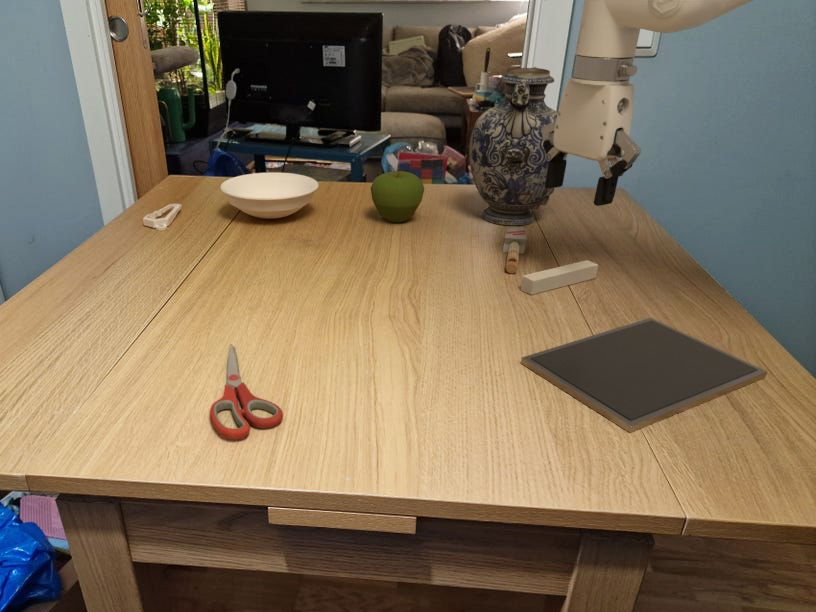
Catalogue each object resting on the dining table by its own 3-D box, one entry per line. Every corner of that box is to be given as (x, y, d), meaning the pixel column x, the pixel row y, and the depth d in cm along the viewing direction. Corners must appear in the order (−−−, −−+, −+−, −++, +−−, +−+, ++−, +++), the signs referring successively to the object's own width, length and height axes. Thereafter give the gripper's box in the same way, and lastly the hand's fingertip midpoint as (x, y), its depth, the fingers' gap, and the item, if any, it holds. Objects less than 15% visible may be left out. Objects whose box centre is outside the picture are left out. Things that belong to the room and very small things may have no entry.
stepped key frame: (159, 210, 140) (158, 202, 139) (183, 210, 140) (182, 202, 139) (140, 230, 129) (138, 221, 128) (165, 230, 129) (164, 221, 128)
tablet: (649, 323, 94) (650, 316, 93) (765, 377, 81) (768, 370, 80) (520, 363, 84) (521, 356, 83) (629, 433, 71) (631, 425, 70)
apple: (376, 210, 140) (377, 162, 135) (425, 214, 138) (429, 165, 133) (364, 225, 131) (365, 175, 126) (417, 230, 129) (420, 179, 124)
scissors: (235, 345, 88) (234, 335, 87) (291, 429, 71) (290, 418, 71) (177, 356, 85) (176, 346, 85) (222, 447, 69) (220, 436, 68)
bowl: (209, 227, 130) (206, 195, 127) (238, 199, 147) (236, 170, 144) (308, 233, 127) (308, 200, 124) (326, 203, 144) (326, 174, 141)
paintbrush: (529, 220, 124) (523, 262, 108) (526, 234, 126) (521, 277, 109) (508, 218, 125) (499, 259, 109) (506, 232, 127) (497, 275, 110)
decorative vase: (551, 240, 124) (578, 79, 110) (453, 228, 130) (467, 74, 116) (559, 208, 141) (584, 65, 128) (472, 199, 147) (487, 62, 133)
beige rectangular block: (584, 273, 110) (587, 259, 109) (595, 278, 108) (598, 264, 107) (520, 289, 104) (522, 275, 103) (530, 295, 102) (533, 280, 101)
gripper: (675, 76, 85) (642, 207, 93) (573, 62, 98) (553, 178, 106) (634, 80, 82) (605, 215, 90) (535, 65, 95) (517, 184, 103)
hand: (577, 195), depth 98 cm, fingers open, 9 cm apart
